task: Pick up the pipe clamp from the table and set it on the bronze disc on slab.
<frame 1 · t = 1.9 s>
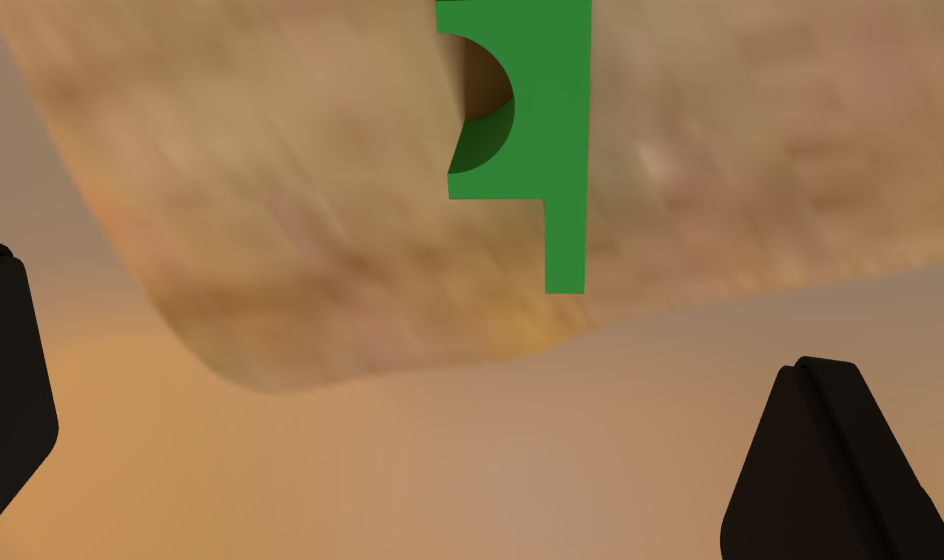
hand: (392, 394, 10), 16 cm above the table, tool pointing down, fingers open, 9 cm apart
pipe clamp: (527, 54, 24), on the table
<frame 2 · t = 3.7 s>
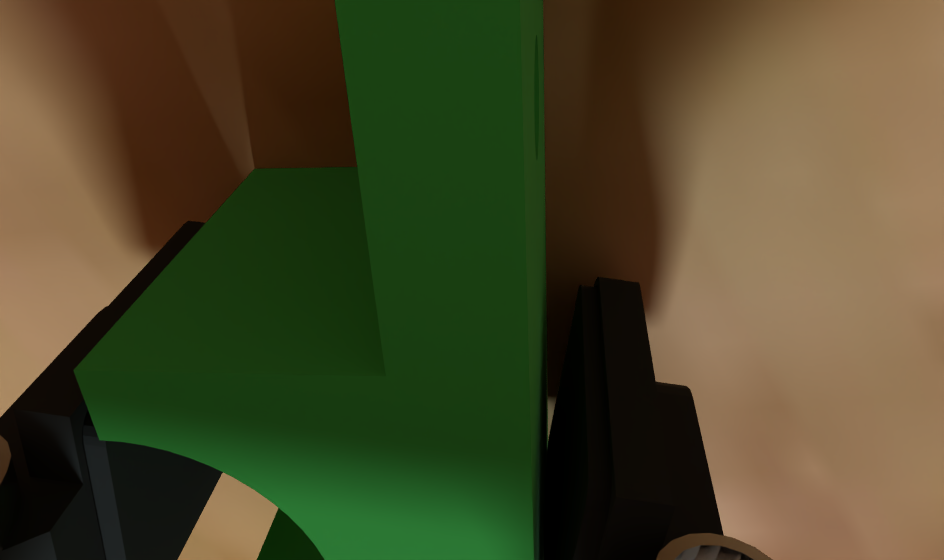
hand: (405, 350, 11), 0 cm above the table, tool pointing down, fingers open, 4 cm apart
pipe clamp: (426, 320, 12), on the table
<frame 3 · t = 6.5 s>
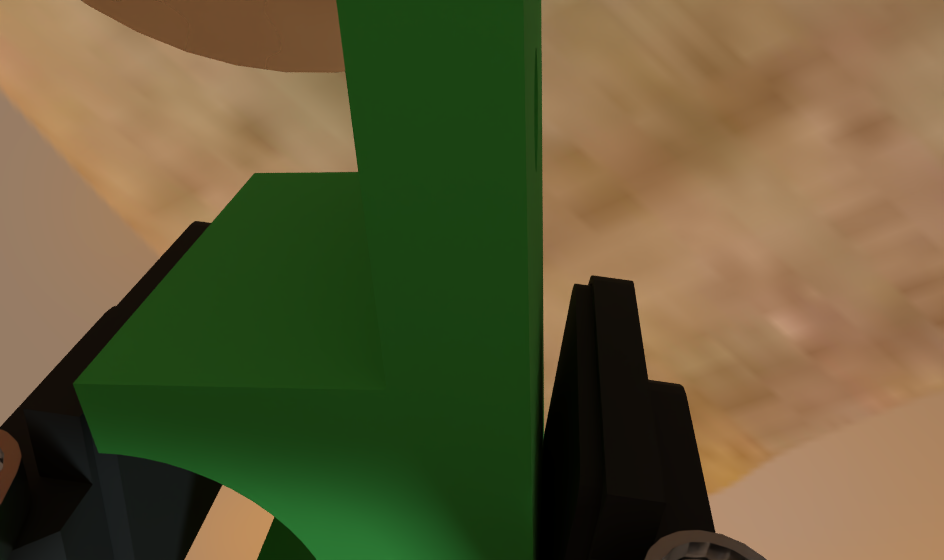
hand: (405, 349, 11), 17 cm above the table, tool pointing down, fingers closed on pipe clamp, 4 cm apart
pipe clamp: (423, 327, 12), point 16 cm above the table, touching gripper
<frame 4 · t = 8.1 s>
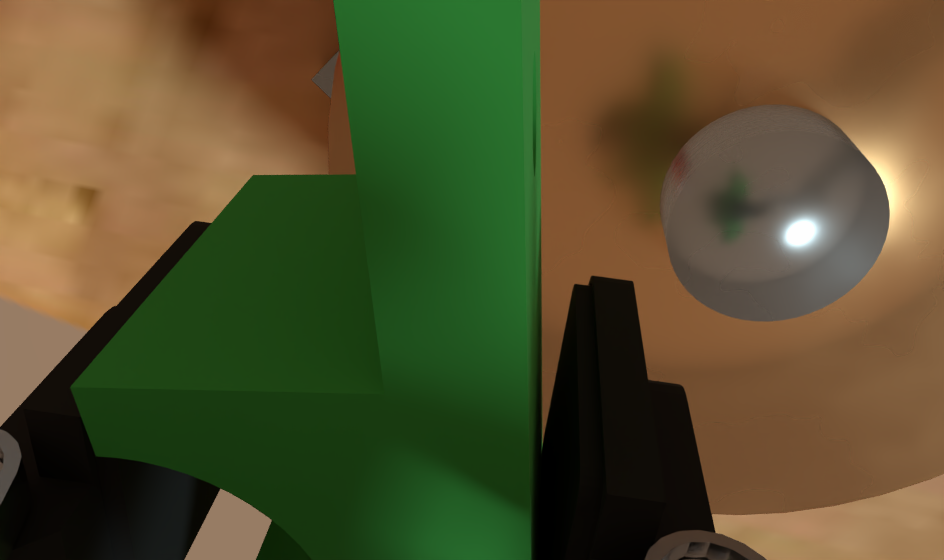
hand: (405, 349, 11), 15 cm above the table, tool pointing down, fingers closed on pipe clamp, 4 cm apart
pipe clamp: (421, 330, 12), point 14 cm above the table, touching gripper
bronze disc on slab: (703, 84, 23), on the table
when the fingers open (10 cm above the table, at t = 9.2 s): pipe clamp drops 1 cm, resting on bronze disc on slab.
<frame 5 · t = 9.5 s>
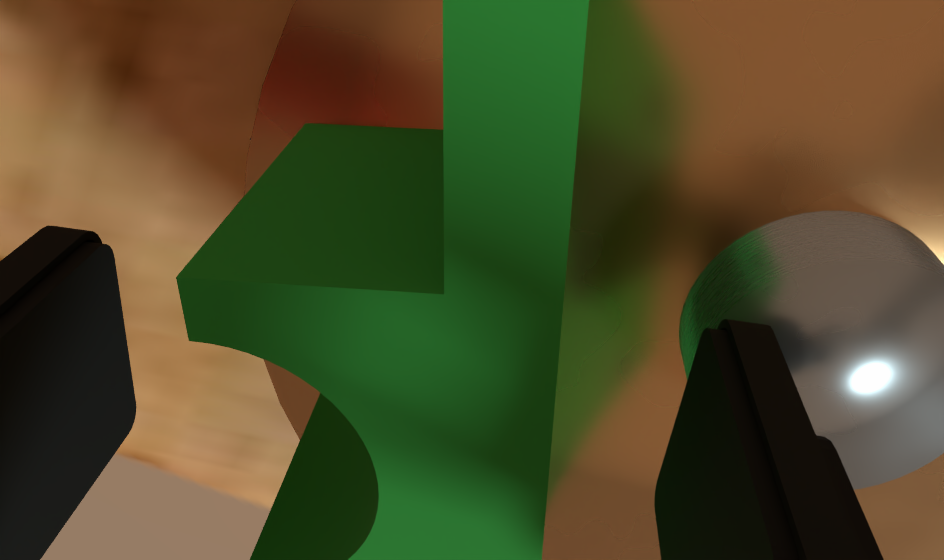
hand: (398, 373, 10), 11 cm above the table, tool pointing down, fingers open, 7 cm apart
pipe clamp: (444, 274, 13), point 8 cm above the table, touching bronze disc on slab
bronze disc on slab: (722, 144, 19), on the table
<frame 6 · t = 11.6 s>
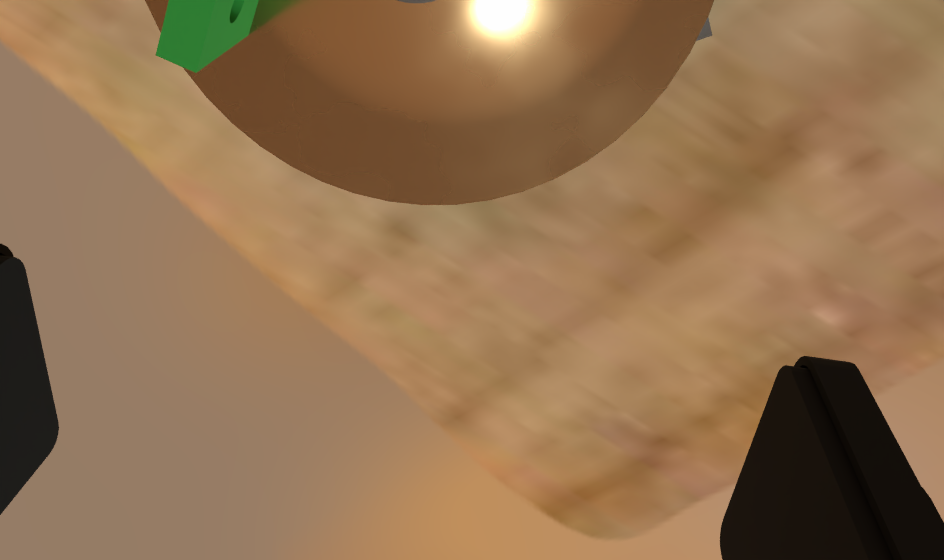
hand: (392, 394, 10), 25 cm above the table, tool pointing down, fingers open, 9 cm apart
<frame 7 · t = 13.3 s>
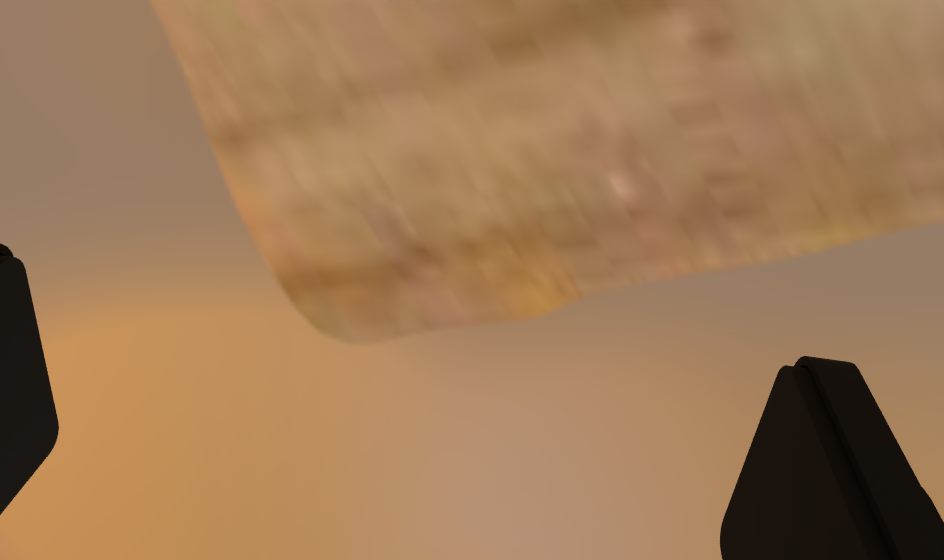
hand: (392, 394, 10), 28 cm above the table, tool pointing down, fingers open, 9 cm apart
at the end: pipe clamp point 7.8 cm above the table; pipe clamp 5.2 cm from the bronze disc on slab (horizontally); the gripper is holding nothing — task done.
